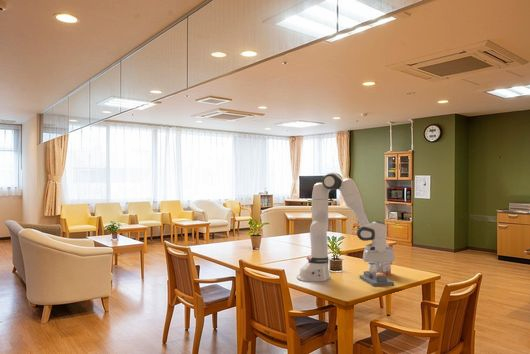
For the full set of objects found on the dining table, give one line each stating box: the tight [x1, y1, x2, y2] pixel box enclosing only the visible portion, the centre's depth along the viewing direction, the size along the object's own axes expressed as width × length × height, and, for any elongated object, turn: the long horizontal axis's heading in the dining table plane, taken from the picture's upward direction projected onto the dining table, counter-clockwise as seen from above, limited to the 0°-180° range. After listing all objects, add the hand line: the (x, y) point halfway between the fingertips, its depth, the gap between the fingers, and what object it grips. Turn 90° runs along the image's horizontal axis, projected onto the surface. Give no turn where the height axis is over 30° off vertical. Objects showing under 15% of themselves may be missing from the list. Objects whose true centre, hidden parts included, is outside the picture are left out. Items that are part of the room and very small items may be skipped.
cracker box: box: [377, 242, 392, 276], centre depth 270 cm, size 14×6×21 cm, turn 139°
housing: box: [359, 270, 395, 287], centre depth 252 cm, size 14×20×6 cm
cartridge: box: [368, 262, 377, 274], centre depth 257 cm, size 5×5×10 cm
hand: (378, 268), depth 247 cm, fingers closed
